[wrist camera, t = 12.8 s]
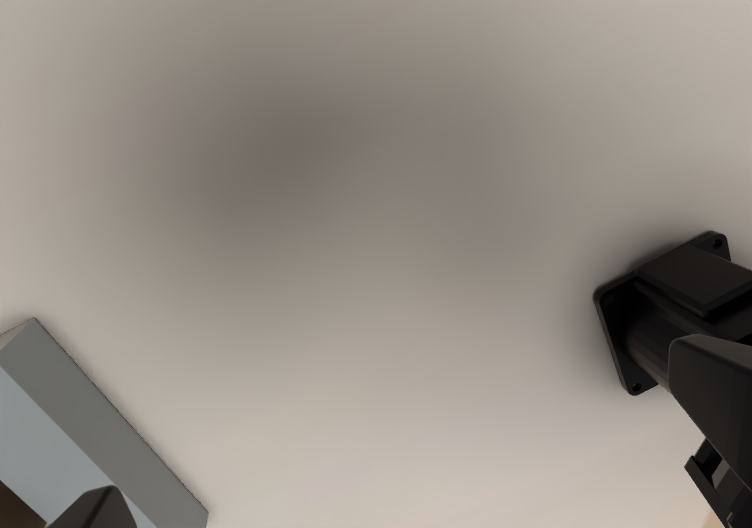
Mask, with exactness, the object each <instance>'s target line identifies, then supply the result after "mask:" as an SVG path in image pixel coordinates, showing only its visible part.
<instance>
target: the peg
mask: <svg viewBox="0 0 752 528" xmlns="http://www.w3.org/2000/svg"><path fill="white" fill-rule="evenodd" d="M46 523H47V522H46V521H45V520H44V519H43V518H42V517H41V516H40V515H38V514H37V513H36V512H35V511H34V510H33V509H32V508H31V507H30V506H28V505H27V504H26V503H25V502H24V501H23V500H22V499H21V498H20V497H19V496H17V495H16V494H15V493H14V492H13V491H12V490H11V489H10V488H9V487H8V486H6V485H5V484H4V483H3V482H2V481H1V480H0V528H44V527H45V525H46Z"/></svg>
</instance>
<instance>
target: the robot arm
mask: <svg viewBox="0 0 752 528" xmlns="http://www.w3.org/2000/svg"><path fill="white" fill-rule="evenodd" d="M714 241H715V243H714V244H713V242H714ZM712 244H713V245H712ZM608 295H609V298H608V299H607V300H606V301H604V300H605V298H606V297H607V296H608ZM594 300H595V304H596V307H597V310H598V313H599V316H600V319H601V322H602V325H603V328H604V331H605V334H606V337H607V340H608V343H609V346H610V349H611V352H612V355H613V358H614V361H615V364H616V367H617V370H618V373H619V376H620V379H621V382H622V385H623V388H624V389H625V390H626V391H627V392H628V393H629V394H630V395H633V396H636V395H639V394H641V393H643V392H645V391H647V390H649V389H651V388H653V387H654V386H656V385H658V384H660V385H661V386H662V387H664V388H665V389H666V390H667V391H668V392H670V393H671V394H672V395H673V396H674V398H675V399H676V400H677V401H678V403H679V404H680V405H681V406H682V408H683V409H684V410H685V411H686V413H687V414H688V415H689V417H690V418H691V419H692V420H693V422H694V423H695V424H696V425H697V427H698V428H699V429H700V430H701V432H702V433H703V434H704V435H705V437H706V438H705V440H704V441H703V443H702V444H701V446H700V447H699V449H698V451H697V452H696V454H695V455H694V456H691V457H690V458H689V460H688V461H687V463H686V465H685V466H684V468H685V469H686V471H687V472H688V474H689V475H690V477H691V478H692V480H693V481H694V483H695V484H696V485H697V487H698V488H699V490H700V491H701V493H702V494H703V496H704V497H705V499H706V500H707V502H708V503H709V505H710V506H711V508H712V509H713V510H714V512H715V513H716V515H717V516H718V518H719V519H720V521H721V522H722V524H723V525H724V527H725V528H752V270H749V269H747V268H745V267H742V266H740V265H737V264H735V263H732V262H731V258H730V253H729V248H728V242H727V238H726V236H725V235H723V234H721V233H718V232H715V231H711V232H708V233H706V234H704V235H702V236H700V237H699V238H697V239H695V240H693V241H691V242H689V243H687V244H684V245H682V246H680V247H678V248H676V249H674V250H672V251H671V252H669V253H667V254H665V255H663V256H661V257H659V258H657V259H655V260H653V261H651V262H649V263H647V264H645V265H643V266H642V267H640V268H638V269H637V270H635V271H633V272H631V273H629V274H627V275H625V276H623V277H621V278H619V279H618V280H616V281H614V282H612V283H610V284H608V285H606V286H604V287H602V288H601V289H599V290H598V291H597V292H596V294H595V297H594ZM634 384H635V385H634ZM633 385H634V386H633ZM47 528H137V524H136V521H135V519H134V517H133V515H132V513H131V511H130V509H129V507H128V505H127V503H126V501H125V499H124V497H123V494H122V492H121V491H120V489H119V488H118V487H117V486H115V485H107V486H104V487H100V488H96V489H92V490H89V491H86V492H84V493H83V494H82V495H81V496H80V497H79V498H78V499H77V500H76V501H74V502H73V503H72V504H71V505H70V506H69V507H68V508H67V509H66V510H65V511H64V512H63V513H62V514H61V515H60V516H59V517H58V518H57V519H56V520H55V521H54V522H52V523H51V524H50V525H49V526H48V527H47Z"/></svg>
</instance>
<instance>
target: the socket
mask: <svg viewBox="0 0 752 528" xmlns="http://www.w3.org/2000/svg"><path fill="white" fill-rule="evenodd" d="M0 480H1V481H2V482H3V483H4V484H5V485H6V486H8V487H9V488H10V489H11V490H12V491H13V492H14V493H15V494H16V495H17V496H19V497H20V498H21V499H22V500H23V501H24V502H25V503H26V504H27V505H28V506H30V507H31V508H32V509H33V510H34V511H35V512H36V513H37V514H38V515H40V516H41V517H42V518H43V519H44V520H45V521H46V522H47V523H48V524H49V525H50V524H51V523H52V522H54V521H55V520H56V519H57V518H58V517H59V516H60V515H61V514H62V513H63V512H64V511H65V510H66V509H67V508H68V507H69V506H70V505H71V504H72V503H73V502H74V501H76V500H77V499H78V498H79V497H80V496H81V495H82V494H83V493H84V492H86V491H89V490H92V489H96V488H100V487H104V486H107V485H115V486H117V487H118V488H119V489H120V491H121V492H122V494H123V497H124V499H125V501H126V503H127V505H128V507H129V509H130V511H131V513H132V515H133V517H134V519H135V521H136V524H137V528H206V524H207V519H208V512H207V511H206V510H205V509H204V508H203V506H202V505H201V504H200V503H199V502H198V501H197V500H196V499H195V497H194V496H193V495H192V494H191V493H190V492H189V491H188V490H187V489H186V487H185V486H184V485H183V484H182V483H181V482H180V481H179V480H178V478H177V477H176V476H175V475H174V474H173V473H172V472H171V471H170V469H169V468H168V467H167V466H166V465H165V464H164V463H163V462H162V460H161V459H160V458H159V457H158V456H157V455H156V454H155V453H154V452H153V450H152V449H151V448H150V447H149V446H148V445H147V444H146V443H145V441H144V440H143V439H142V438H141V437H140V436H139V435H138V434H137V432H136V431H135V430H134V429H133V428H132V427H131V426H130V425H129V423H128V422H127V421H126V420H125V419H124V418H123V417H122V416H121V415H120V413H119V412H118V411H117V410H116V409H115V408H114V407H113V406H112V404H111V403H110V402H109V401H108V400H107V399H106V398H105V397H104V395H103V394H102V393H101V392H100V391H99V390H98V389H97V388H96V386H95V385H94V384H93V383H92V382H91V381H90V380H89V379H88V378H87V376H86V375H85V374H84V373H83V372H82V371H81V370H80V369H79V367H78V366H77V365H76V364H75V363H74V362H73V361H72V360H71V358H70V357H69V356H68V355H67V354H66V353H65V352H64V351H63V349H62V348H61V347H60V346H59V345H58V344H57V343H56V342H55V341H54V339H53V338H52V337H51V336H50V335H49V334H48V333H47V332H46V330H45V329H44V328H43V327H42V326H41V325H40V324H39V323H38V321H37V320H36V319H35V318H33V319H31V320H29V321H27V322H25V323H23V324H21V325H19V326H17V327H16V328H14V329H12V330H10V331H8V332H6V333H4V334H2V335H0Z"/></svg>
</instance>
